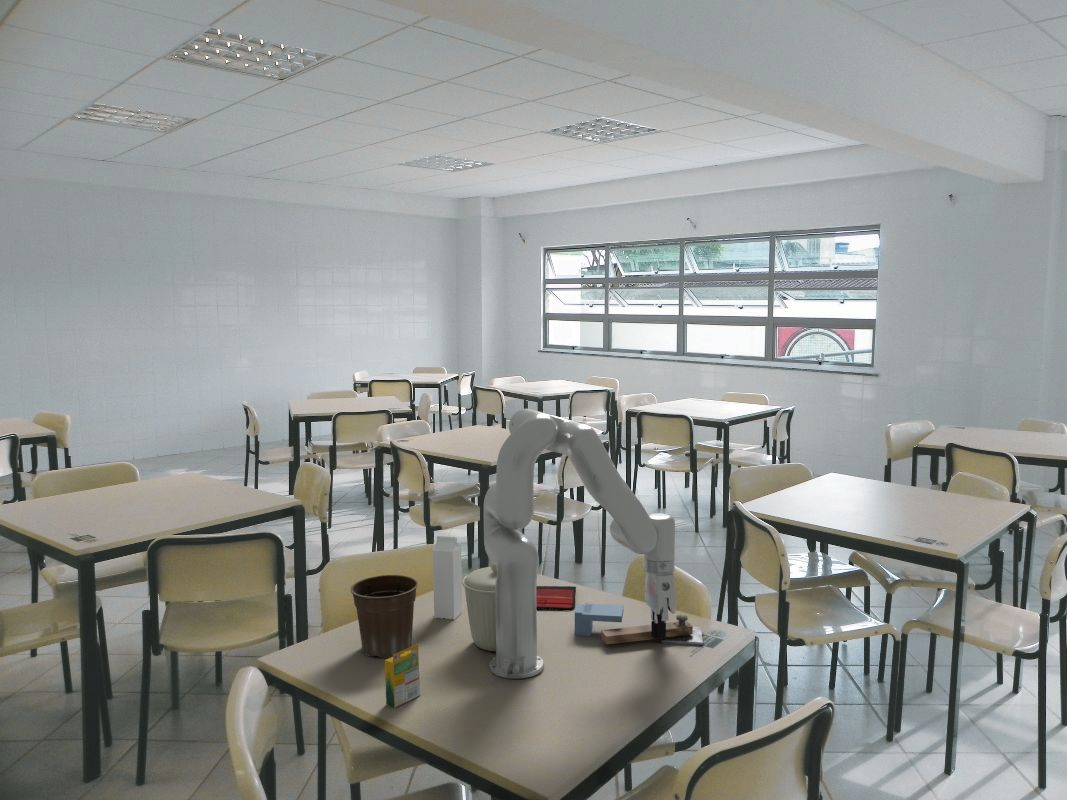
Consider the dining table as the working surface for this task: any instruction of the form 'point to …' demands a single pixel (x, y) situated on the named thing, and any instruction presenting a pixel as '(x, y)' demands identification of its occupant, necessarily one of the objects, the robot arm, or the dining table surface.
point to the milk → (447, 578)
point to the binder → (555, 597)
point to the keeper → (595, 616)
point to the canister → (482, 606)
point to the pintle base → (686, 638)
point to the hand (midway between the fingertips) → (658, 636)
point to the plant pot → (385, 613)
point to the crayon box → (402, 676)
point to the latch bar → (646, 631)
